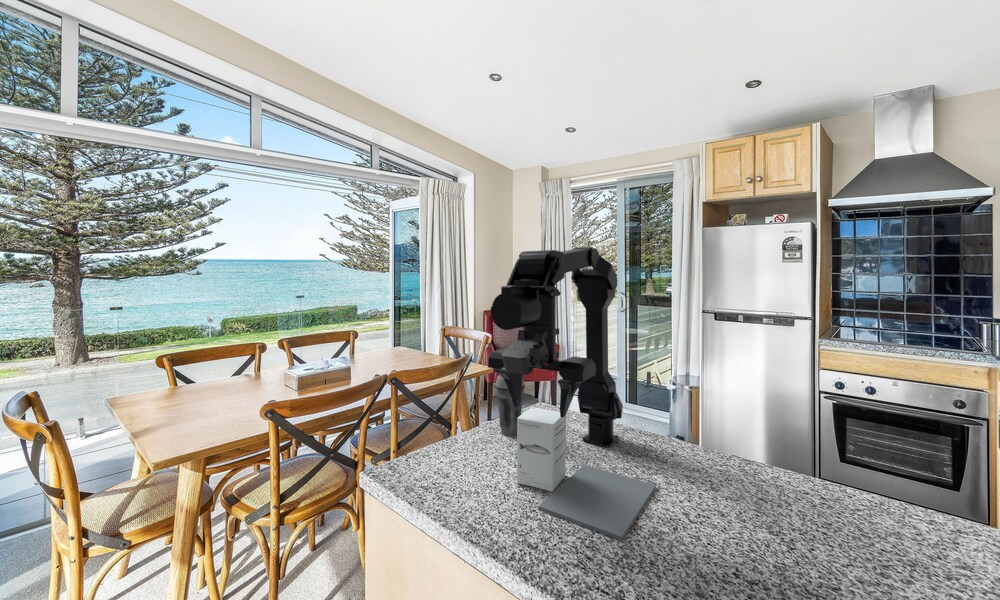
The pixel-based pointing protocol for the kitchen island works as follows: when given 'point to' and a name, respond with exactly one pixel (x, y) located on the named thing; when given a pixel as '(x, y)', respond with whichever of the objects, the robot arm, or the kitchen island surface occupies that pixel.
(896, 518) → the kitchen island surface
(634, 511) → the mat
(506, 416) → the beverage cup
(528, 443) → the supplement box
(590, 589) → the kitchen island surface
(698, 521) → the kitchen island surface
